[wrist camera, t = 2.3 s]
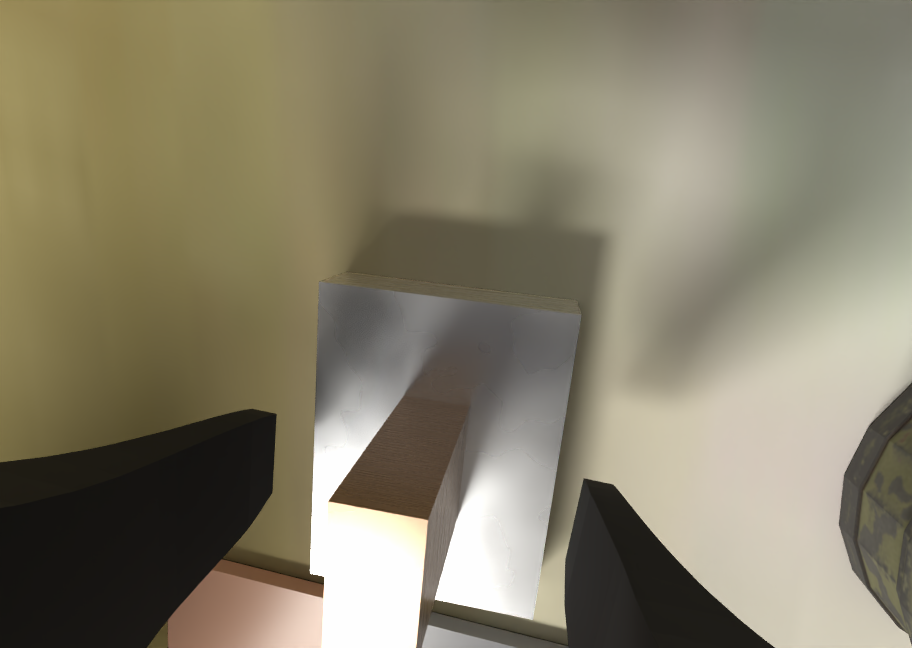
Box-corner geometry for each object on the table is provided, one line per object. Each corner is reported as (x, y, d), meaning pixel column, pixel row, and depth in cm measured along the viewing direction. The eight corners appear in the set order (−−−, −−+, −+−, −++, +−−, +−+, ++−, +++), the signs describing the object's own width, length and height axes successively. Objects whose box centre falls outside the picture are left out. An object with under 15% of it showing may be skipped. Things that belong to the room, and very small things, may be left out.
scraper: (338, 528, 16) (206, 739, 10) (350, 270, 14) (193, 328, 8) (534, 566, 15) (527, 822, 9) (576, 298, 13) (603, 386, 7)
